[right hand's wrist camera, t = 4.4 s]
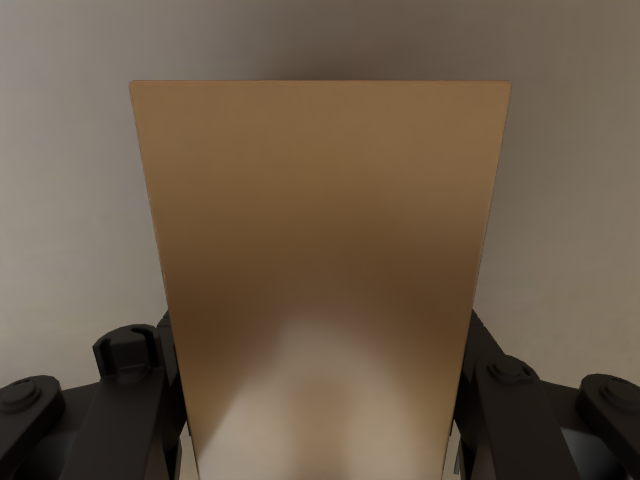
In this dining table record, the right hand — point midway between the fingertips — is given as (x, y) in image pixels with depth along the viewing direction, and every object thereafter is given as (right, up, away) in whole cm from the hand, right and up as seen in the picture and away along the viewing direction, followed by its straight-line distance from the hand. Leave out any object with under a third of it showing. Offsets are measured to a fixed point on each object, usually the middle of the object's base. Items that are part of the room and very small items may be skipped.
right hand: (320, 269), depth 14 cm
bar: (0, -17, +7) cm, 19 cm away
